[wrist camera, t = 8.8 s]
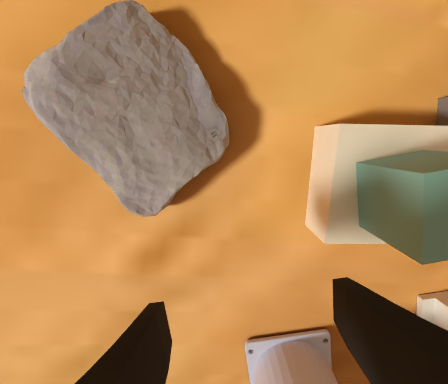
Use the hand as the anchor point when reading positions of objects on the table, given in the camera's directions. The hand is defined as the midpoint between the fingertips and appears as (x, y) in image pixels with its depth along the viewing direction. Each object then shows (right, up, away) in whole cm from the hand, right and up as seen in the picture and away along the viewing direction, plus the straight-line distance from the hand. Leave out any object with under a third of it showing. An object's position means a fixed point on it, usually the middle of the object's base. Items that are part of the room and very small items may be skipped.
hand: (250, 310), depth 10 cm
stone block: (-7, +11, +8) cm, 15 cm away
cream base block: (+10, +6, +9) cm, 15 cm away
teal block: (+10, +5, +6) cm, 12 cm away
